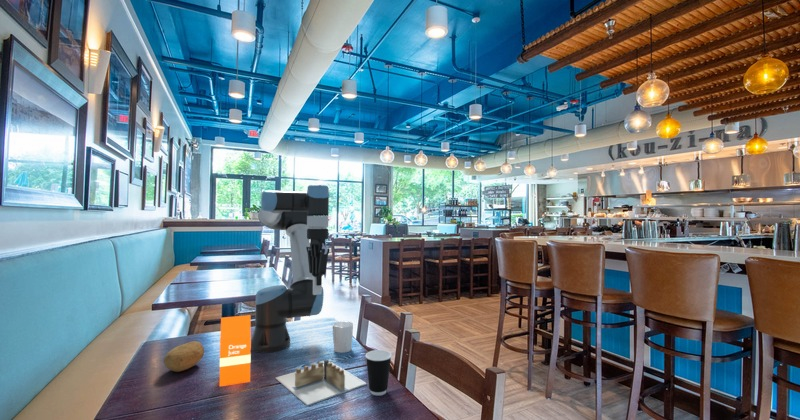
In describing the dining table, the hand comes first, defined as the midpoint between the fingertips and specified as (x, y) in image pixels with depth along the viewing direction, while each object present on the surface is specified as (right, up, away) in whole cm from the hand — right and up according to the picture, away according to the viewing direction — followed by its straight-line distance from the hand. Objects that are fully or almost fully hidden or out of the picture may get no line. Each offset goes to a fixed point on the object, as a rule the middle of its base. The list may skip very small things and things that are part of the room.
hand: (317, 294), depth 131 cm
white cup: (+7, -25, +13) cm, 29 cm away
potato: (-44, -24, -6) cm, 51 cm away
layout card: (+4, -24, -15) cm, 29 cm away
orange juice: (-23, -24, -14) cm, 36 cm away
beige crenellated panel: (+2, -23, -17) cm, 29 cm away
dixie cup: (+23, -25, -21) cm, 40 cm away
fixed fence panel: (+9, -24, -17) cm, 31 cm away
